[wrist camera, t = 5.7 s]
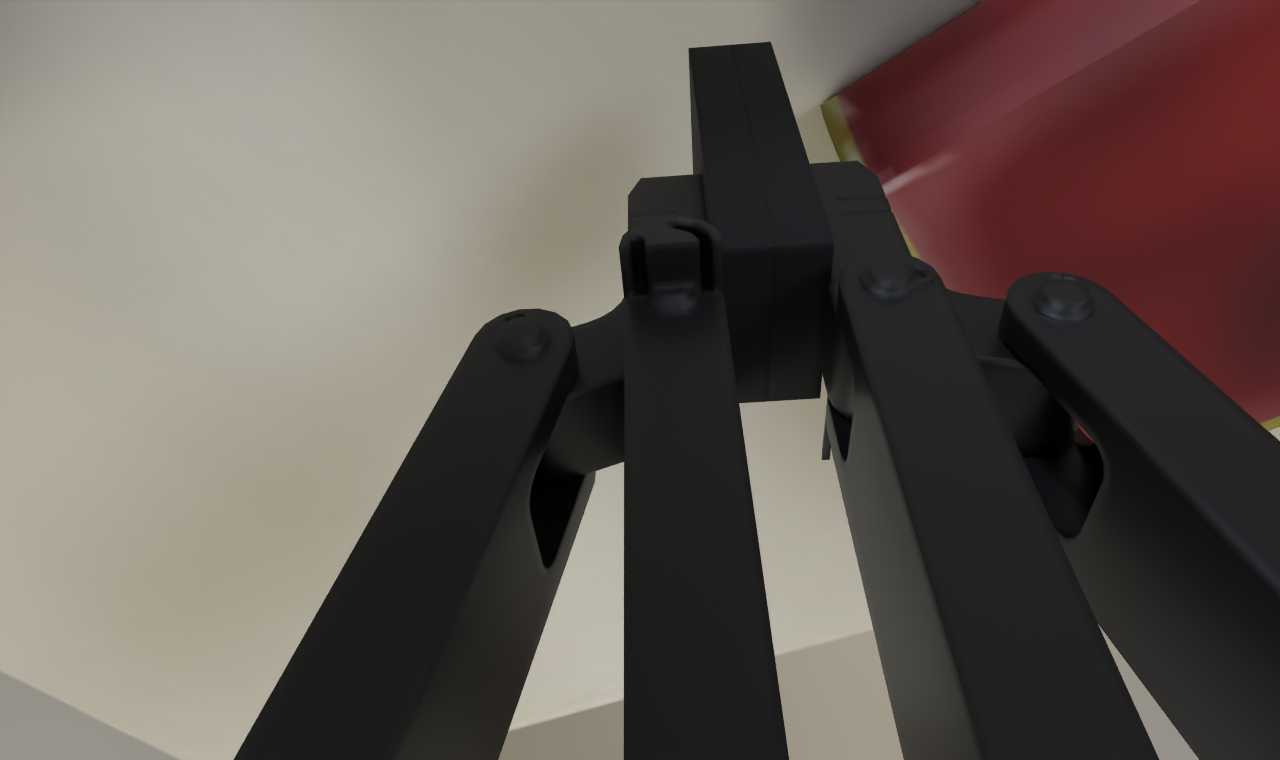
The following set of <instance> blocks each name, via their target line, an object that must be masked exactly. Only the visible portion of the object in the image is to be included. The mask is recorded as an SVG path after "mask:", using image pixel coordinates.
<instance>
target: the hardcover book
mask: <svg viewBox="0 0 1280 760" xmlns="http://www.w3.org/2000/svg"><path fill="white" fill-rule="evenodd" d="M820 106H821V110H822V114H823V117H824V120H825V123H826V126H827V129H828V132H829V134H830V137H831V139H832V142H833V145H834V147H835V150H836V152H837V155H838V157H839V159H840V162H844V161H859V162H860V163H861V164H863V165H864V166H865V167H867V168H868V169H869V170H871V171H872V172H873V173H875V174H876V175H877V176H878V178H879V181H880V183H881V185H882V188H883V190H884V192H885V197H887V199H888V202H889V204H890V206H891V212H893V213H894V216H895V218H896V220H897V223H898V225H899V227H900V230H901V232H902V234H903V237H904V239H905V241H906V244H907V246H908V248H909V251H910V253H911V255H912V257H916V258H918V259H920V260H922V261H924V262H925V263H927V264H929V265H931V266H932V267H933V268H934V269H935V271H936V272H937V273H938V274H939V275H940V277H941V279H942V281H943V283H944V285H945V287H946V288H947V289H950V290H952V291H955V292H959V293H964V294H969V295H974V296H982V297H989V298H996V299H1004V300H1005V299H1006V295H1007V291H1008V289H1009V288H1010V287H1011V285H1012V284H1013V283H1014V282H1015V281H1016V280H1017V279H1020V278H1022V277H1025V276H1027V275H1030V274H1033V273H1044V272H1058V273H1067V274H1074V275H1077V276H1080V277H1083V278H1086V279H1088V280H1091V281H1094V282H1096V283H1097V284H1099V285H1100V286H1102V287H1104V288H1105V289H1107V290H1108V291H1110V292H1111V293H1112V294H1113V295H1114V296H1116V297H1117V298H1118V299H1119V300H1120V301H1121V302H1122V303H1124V304H1125V305H1126V306H1127V307H1128V308H1129V309H1130V310H1131V311H1133V312H1134V313H1135V314H1136V315H1137V316H1138V317H1139V318H1141V319H1142V320H1143V321H1144V322H1145V323H1146V324H1147V325H1148V326H1150V327H1151V328H1152V329H1153V330H1154V331H1155V332H1156V333H1158V334H1159V335H1160V336H1161V337H1162V338H1163V339H1164V340H1165V341H1167V342H1168V343H1169V344H1170V345H1171V346H1172V347H1173V348H1175V349H1176V350H1177V351H1178V352H1179V353H1180V354H1181V355H1182V356H1184V357H1185V358H1186V359H1187V360H1188V361H1189V362H1190V363H1192V364H1193V365H1194V366H1195V367H1196V368H1197V369H1198V370H1199V371H1201V372H1202V373H1203V374H1204V375H1205V376H1206V377H1207V378H1209V379H1210V380H1211V381H1212V382H1213V383H1214V384H1215V385H1216V386H1218V387H1219V388H1220V389H1221V390H1222V391H1223V392H1224V393H1225V394H1227V395H1228V396H1229V397H1230V398H1231V399H1232V400H1233V401H1235V402H1236V403H1237V404H1238V405H1239V406H1240V407H1241V408H1242V409H1244V410H1245V411H1246V412H1247V413H1248V414H1249V415H1250V416H1252V417H1253V418H1254V419H1255V420H1256V421H1257V422H1258V423H1259V424H1261V425H1262V426H1263V427H1264V428H1265V429H1266V430H1267V431H1269V430H1272V429H1274V428H1277V427H1280V0H984V1H982V2H981V3H979V4H978V5H976V6H974V7H973V8H971V9H970V10H968V11H967V12H965V13H963V14H962V15H960V16H959V17H957V18H956V19H954V20H953V21H951V22H949V23H948V24H946V25H945V26H943V27H942V28H940V29H939V30H937V31H935V32H934V33H932V34H931V35H929V36H928V37H926V38H925V39H923V40H921V41H920V42H918V43H917V44H915V45H914V46H912V47H911V48H909V49H907V50H906V51H904V52H903V53H901V54H900V55H898V56H896V57H895V58H893V59H892V60H890V61H889V62H887V63H886V64H884V65H882V66H881V67H879V68H878V69H876V70H875V71H873V72H872V73H870V74H868V75H867V76H865V77H864V78H862V79H861V80H859V81H858V82H856V83H854V84H853V85H851V86H850V87H848V88H847V89H845V90H844V91H842V92H840V93H839V94H837V95H836V96H834V97H833V98H831V99H830V100H828V101H826V102H825V103H823V104H822V105H820ZM1078 427H1079V428H1080V429H1081V430H1082V431H1083V432H1084V434H1085V435H1086V436H1087V437H1089V438H1090V439H1091V437H1090V436H1089V435H1088V434H1087V433H1086V432H1085V431H1084V430H1083V429H1082V427H1081V426H1080V425H1079V426H1078ZM1091 440H1092V439H1091ZM1092 441H1093V440H1092Z"/></svg>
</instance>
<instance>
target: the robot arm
mask: <svg viewBox="0 0 1280 760" xmlns="http://www.w3.org/2000/svg"><path fill="white" fill-rule="evenodd" d="M689 70H690V98H691V125H692V152H693V175H681V176H667V177H654V178H641V179H640V180H639V182H638V183H637V184H636V186H635V187H634V188H633V190H632V191H631V192H630V194H629V195H628V231H627V232H626V233H625V234H624V235H623V237H622V239H621V242H620V245H619V253H620V262H621V271H622V281H623V290H624V298H623V300H622V302H621V303H620V304H619V305H618V306H617V307H616V308H615V309H613V310H612V311H611V312H609V313H607V314H606V315H604V316H602V317H601V318H598V319H596V320H593V321H590V322H588V323H584V324H581V325H577V326H574V327H571V326H570V324H569V322H568V320H566V319H564V318H563V317H561V316H560V315H558V314H557V313H555V312H551V311H546V310H542V309H520V310H516V311H512V312H509V313H505V314H502V315H500V316H498V317H496V318H495V319H493V320H491V321H489V322H488V323H486V324H485V325H484V326H483V327H482V328H481V329H480V330H479V332H478V333H477V334H476V335H475V336H474V338H473V340H472V342H471V343H470V345H469V347H468V349H467V350H466V352H465V354H464V356H463V357H462V359H461V361H460V363H459V364H458V366H457V368H456V370H455V371H454V373H453V375H452V377H451V379H450V380H449V382H448V384H447V386H446V387H445V389H444V391H443V393H442V394H441V396H440V398H439V400H438V401H437V403H436V405H435V407H434V408H433V410H432V412H431V414H430V415H429V417H428V419H427V421H426V422H425V424H424V426H423V428H422V429H421V431H420V433H419V435H418V437H417V438H416V440H415V442H414V444H413V445H412V447H411V449H410V451H409V452H408V454H407V456H406V458H405V459H404V461H403V463H402V465H401V466H400V468H399V470H398V472H397V473H396V475H395V477H394V479H393V480H392V482H391V484H390V486H389V487H388V489H387V491H386V493H385V495H384V496H383V498H382V500H381V502H380V503H379V505H378V507H377V509H376V510H375V512H374V514H373V516H372V517H371V519H370V521H369V523H368V524H367V526H366V528H365V530H364V531H363V533H362V535H361V537H360V538H359V540H358V542H357V544H356V545H355V547H354V549H353V551H352V553H351V554H350V556H349V558H348V560H347V561H346V563H345V565H344V567H343V568H342V570H341V572H340V574H339V575H338V577H337V579H336V581H335V582H334V584H333V586H332V588H331V589H330V591H329V593H328V595H327V596H326V598H325V600H324V602H323V603H322V605H321V607H320V609H319V611H318V612H317V614H316V616H315V618H314V619H313V621H312V623H311V625H310V626H309V628H308V630H307V632H306V633H305V635H304V637H303V639H302V640H301V642H300V644H299V646H298V647H297V649H296V651H295V653H294V654H293V656H292V658H291V660H290V661H289V663H288V665H287V667H286V669H285V670H284V672H283V674H282V676H281V677H280V679H279V681H278V683H277V684H276V686H275V688H274V690H273V691H272V693H271V695H270V697H269V698H268V700H267V702H266V704H265V705H264V707H263V709H262V711H261V712H260V714H259V716H258V718H257V719H256V721H255V723H254V725H253V727H252V728H251V730H250V732H249V734H248V735H247V737H246V739H245V741H244V742H243V744H242V746H241V748H240V749H239V751H238V753H237V755H236V756H235V758H234V760H498V759H499V755H500V753H501V750H502V747H503V744H504V741H505V738H506V735H507V733H508V730H509V727H510V724H511V721H512V718H513V715H514V713H515V710H516V707H517V704H518V701H519V698H520V695H521V692H522V690H523V687H524V684H525V681H526V678H527V675H528V672H529V669H530V666H531V664H532V661H533V658H534V655H535V652H536V649H537V646H538V643H539V641H540V638H541V635H542V632H543V629H544V626H545V623H546V620H547V618H548V615H549V612H550V609H551V606H552V603H553V600H554V597H555V595H556V592H557V589H558V586H559V583H560V580H561V577H562V574H563V571H564V569H565V566H566V563H567V560H568V557H569V554H570V551H571V548H572V546H573V543H574V540H575V537H576V534H577V531H578V528H579V525H580V523H581V520H582V517H583V514H584V511H585V508H586V505H587V502H588V500H589V497H590V494H591V491H592V488H593V485H594V482H595V474H596V471H597V470H600V469H603V468H606V467H609V466H612V465H615V464H618V463H621V462H624V760H789V756H788V749H787V742H786V734H785V727H784V720H783V713H782V706H781V699H780V692H779V685H778V677H777V670H776V663H775V656H774V649H773V642H772V635H771V628H770V620H769V613H768V606H767V599H766V592H765V585H764V578H763V571H762V564H761V556H760V549H759V542H758V535H757V528H756V521H755V514H754V507H753V500H752V492H751V485H750V478H749V471H748V464H747V457H746V450H745V443H744V435H743V428H742V421H741V414H740V407H739V403H748V402H764V401H781V400H797V399H814V398H820V392H821V381H822V374H823V378H824V382H825V386H826V390H827V394H828V398H827V408H826V418H825V428H824V438H823V447H822V460H830V450H831V449H832V454H833V458H834V462H835V466H836V471H837V475H838V479H839V484H840V488H841V492H842V496H843V501H844V505H845V509H846V514H847V518H848V522H849V526H850V531H851V535H852V539H853V544H854V548H855V552H856V556H857V561H858V565H859V569H860V573H861V578H862V582H863V586H864V591H865V595H866V599H867V603H868V608H869V612H870V616H871V621H872V625H873V629H874V633H875V638H876V642H877V646H878V651H879V654H880V659H881V663H882V668H883V672H884V676H885V680H886V685H887V689H888V693H889V698H890V702H891V706H892V710H893V714H894V719H895V723H896V728H897V732H898V736H899V741H900V744H901V749H902V753H903V757H904V760H1159V758H1158V756H1157V754H1156V752H1155V749H1154V747H1153V745H1152V743H1151V740H1150V738H1149V736H1148V734H1147V732H1146V729H1145V727H1144V725H1143V723H1142V721H1141V718H1140V716H1139V714H1138V712H1137V710H1136V707H1135V705H1134V703H1133V701H1132V698H1131V696H1130V694H1129V692H1128V690H1127V687H1126V685H1125V683H1124V681H1123V679H1122V676H1121V674H1120V672H1119V670H1118V667H1117V665H1116V663H1115V661H1114V659H1113V657H1112V654H1111V652H1110V650H1109V648H1108V645H1107V643H1106V641H1105V639H1104V637H1103V634H1102V632H1101V630H1100V628H1099V626H1100V627H1101V628H1102V629H1103V631H1104V632H1105V634H1106V635H1107V636H1108V638H1109V639H1110V640H1111V642H1112V643H1113V644H1114V646H1115V647H1116V648H1117V650H1118V651H1119V652H1120V654H1121V655H1122V656H1123V658H1124V659H1125V660H1126V662H1127V663H1128V664H1129V666H1130V667H1131V668H1132V670H1133V671H1134V672H1135V674H1136V675H1137V677H1138V678H1139V679H1140V680H1141V682H1142V683H1143V684H1144V686H1145V687H1146V688H1147V690H1148V691H1149V692H1150V694H1151V695H1152V697H1153V698H1154V699H1155V701H1156V702H1157V703H1158V705H1159V706H1160V707H1161V709H1162V710H1163V711H1164V713H1165V714H1166V715H1167V717H1168V718H1169V719H1170V721H1171V722H1172V724H1173V725H1174V726H1175V727H1176V729H1177V730H1178V732H1179V733H1180V734H1181V736H1182V737H1183V738H1184V739H1185V741H1186V742H1187V744H1188V745H1189V746H1190V748H1191V749H1192V750H1193V752H1194V753H1195V754H1196V756H1197V757H1198V758H1199V760H1280V441H1279V440H1278V439H1276V438H1275V437H1274V436H1273V435H1272V434H1271V433H1270V432H1269V431H1267V430H1266V429H1265V428H1264V427H1263V426H1262V425H1261V424H1259V423H1258V422H1257V421H1256V420H1255V419H1254V418H1253V417H1252V416H1250V415H1249V414H1248V413H1247V412H1246V411H1245V410H1244V409H1242V408H1241V407H1240V406H1239V405H1238V404H1237V403H1236V402H1235V401H1233V400H1232V399H1231V398H1230V397H1229V396H1228V395H1227V394H1225V393H1224V392H1223V391H1222V390H1221V389H1220V388H1219V387H1218V386H1216V385H1215V384H1214V383H1213V382H1212V381H1211V380H1210V379H1209V378H1207V377H1206V376H1205V375H1204V374H1203V373H1202V372H1201V371H1199V370H1198V369H1197V368H1196V367H1195V366H1194V365H1193V364H1192V363H1190V362H1189V361H1188V360H1187V359H1186V358H1185V357H1184V356H1182V355H1181V354H1180V353H1179V352H1178V351H1177V350H1176V349H1175V348H1173V347H1172V346H1171V345H1170V344H1169V343H1168V342H1167V341H1165V340H1164V339H1163V338H1162V337H1161V336H1160V335H1159V334H1158V333H1156V332H1155V331H1154V330H1153V329H1152V328H1151V327H1150V326H1148V325H1147V324H1146V323H1145V322H1144V321H1143V320H1142V319H1141V318H1139V317H1138V316H1137V315H1136V314H1135V313H1134V312H1133V311H1131V310H1130V309H1129V308H1128V307H1127V306H1126V305H1125V304H1124V303H1122V302H1121V301H1120V300H1119V299H1118V298H1117V297H1116V296H1114V295H1113V294H1112V293H1111V292H1110V291H1108V290H1107V289H1105V288H1104V287H1102V286H1100V285H1099V284H1097V283H1096V282H1094V281H1091V280H1088V279H1086V278H1083V277H1080V276H1077V275H1074V274H1067V273H1058V272H1044V273H1033V274H1030V275H1027V276H1025V277H1022V278H1020V279H1017V280H1016V281H1015V282H1014V283H1013V284H1012V285H1011V287H1010V288H1009V289H1008V291H1007V295H1006V299H1005V300H1004V299H996V298H989V297H982V296H974V295H969V294H964V293H959V292H955V291H952V290H950V289H947V288H946V287H945V285H944V283H943V281H942V279H941V277H940V275H939V274H938V273H937V272H936V271H935V269H934V268H933V267H932V266H931V265H929V264H927V263H925V262H924V261H922V260H920V259H918V258H916V257H912V255H911V253H910V251H909V248H908V246H907V244H906V241H905V239H904V237H903V234H902V232H901V230H900V227H899V225H898V223H897V220H896V218H895V216H894V213H893V212H891V206H890V204H889V202H888V199H887V197H885V192H884V190H883V188H882V185H881V183H880V181H879V178H878V176H877V175H876V174H875V173H873V172H872V171H871V170H869V169H868V168H867V167H865V166H864V165H863V164H861V163H860V162H859V161H844V162H830V163H816V164H809V161H808V158H807V154H806V151H805V148H804V145H803V142H802V139H801V136H800V132H799V129H798V126H797V123H796V120H795V117H794V114H793V110H792V107H791V104H790V101H789V98H788V95H787V92H786V88H785V85H784V82H783V79H782V76H781V73H780V69H779V66H778V63H777V60H776V57H775V54H774V51H773V47H772V44H771V42H763V43H750V44H737V45H724V46H712V47H699V48H689ZM1079 425H1080V426H1081V427H1082V429H1083V430H1084V431H1085V432H1086V433H1087V434H1088V435H1089V436H1090V437H1091V439H1092V440H1093V441H1092V440H1091V439H1090V438H1089V437H1087V436H1086V435H1085V434H1084V432H1083V431H1082V430H1081V429H1080V428H1079V427H1078V426H1079ZM1098 624H1099V626H1098Z"/></svg>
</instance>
